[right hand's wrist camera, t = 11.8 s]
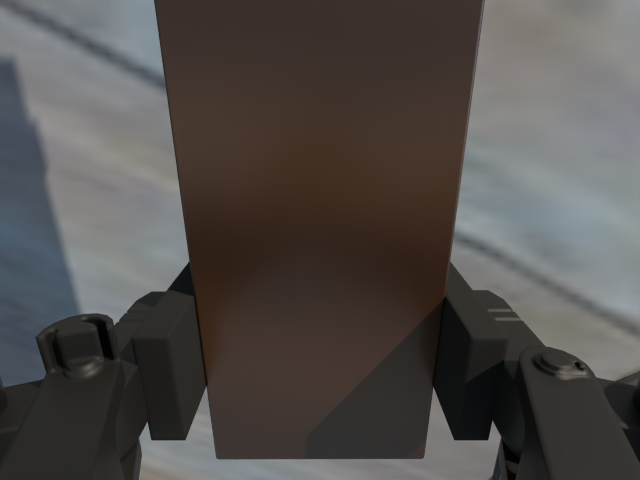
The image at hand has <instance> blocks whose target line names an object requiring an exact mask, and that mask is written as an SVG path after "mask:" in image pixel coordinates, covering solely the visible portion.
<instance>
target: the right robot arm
mask: <svg viewBox="0 0 640 480" xmlns="http://www.w3.org/2000/svg"><path fill="white" fill-rule="evenodd" d="M36 341H37V344H38V347H39V350H40V354H41V357H42V360H43V363H44V366H45V370H46V373H47V374H46V376H45V377H44V379H43V380H39V381H34V382H29V383H24V384H19V385H15V386H10V387H5V388H4V386H3V383H2V381H1V378H0V480H139V473H140V465H141V458H142V452H141V445H140V441H139V436H140V435H141V433H142V431H143V429H144V427H145V425H146V423H147V421H148V426H149V430H150V435H151V440H186V437H187V435H188V432H189V429H190V427H191V424H192V422H193V419H194V417H195V414H196V411H197V409H198V406H199V404H200V401H201V398H202V396H203V393H204V391H205V388H206V378H205V371H204V364H203V356H202V349H201V341H200V334H199V327H198V319H197V312H196V305H195V297H194V290H193V283H192V275H191V268H190V261H189V263H188V264H187V265H186V267H185V268H184V269H183V270H182V272H181V273H180V274H179V276H178V277H177V278H176V279H175V281H174V282H173V283H172V285H171V286H170V287H169V288H168V290H167V291H166V292H150V293H149V294H147V295H145V296H143V297H142V298H140V299H138V300H137V301H136V302H135V303H134V304H133V305H132V306H131V307H130V309H129V310H128V311H127V313H125V314H124V315H123V316H122V318H121V319H120V320H119V322H117V323H116V324H115V326H114V324H113V319H111V318H110V317H108V316H107V315H103V314H97V313H96V314H82V315H78V316H73V317H69V318H66V319H64V320H61V321H59V322H56V323H54V324H52V325H51V326H49V327H47V328H46V329H44V330H43V331H42V332H41V333H40V334H39V335H38V336H37V337H36ZM433 386H434V389H435V392H436V394H437V397H438V399H439V402H440V404H441V407H442V410H443V412H444V415H445V417H446V420H447V423H448V425H449V428H450V430H451V433H452V435H453V438H454V440H488V439H489V434H490V429H491V424H492V420H493V422H494V424H495V426H496V427H497V429H498V431H499V433H500V435H501V441H500V445H499V450H498V454H497V459H496V463H495V468H494V473H493V480H499V475H500V473H501V479H502V480H640V371H639V372H637V373H634V374H632V375H630V376H628V377H626V378H624V379H622V380H620V381H618V382H615V381H610V380H605V379H600V378H596V377H595V375H594V373H593V372H592V370H591V369H590V368H589V367H588V366H587V364H585V363H584V362H583V361H581V360H580V359H578V358H577V357H575V356H573V355H571V354H569V353H566V352H564V351H562V350H558V349H554V348H551V347H545V345H544V344H543V343H542V342H541V341H540V340H539V339H538V338H537V336H536V335H535V334H534V333H533V332H532V331H531V330H530V329H529V327H528V326H527V325H526V324H525V323H524V322H523V321H521V320H520V317H519V316H518V315H517V314H516V313H515V312H513V310H512V308H511V307H510V306H509V305H508V304H507V303H506V302H505V301H504V299H502V298H500V297H499V296H497V295H495V294H494V293H492V292H490V291H488V290H472V289H471V288H470V286H469V285H468V284H467V282H466V281H465V280H464V279H463V277H462V276H461V275H460V273H459V272H458V271H457V270H456V268H455V267H454V266H453V264H452V263H451V262H450V265H449V273H448V280H447V288H446V295H445V302H444V310H443V318H442V325H441V333H440V340H439V348H438V355H437V363H436V370H435V378H434V385H433Z"/></svg>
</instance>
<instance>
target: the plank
mask: <svg viewBox="0 0 640 480" xmlns="http://www.w3.org/2000/svg"><path fill="white" fill-rule="evenodd" d="M484 2H485V0H154V3H155V10H156V17H157V25H158V32H159V40H160V47H161V54H162V62H163V69H164V76H165V84H166V91H167V99H168V106H169V113H170V121H171V128H172V135H173V143H174V150H175V157H176V165H177V172H178V180H179V187H180V194H181V202H182V209H183V216H184V224H185V231H186V239H187V246H188V253H189V261H190V268H191V275H192V283H193V290H194V297H195V305H196V312H197V319H198V327H199V334H200V341H201V349H202V356H203V364H204V371H205V378H206V386H207V393H208V401H209V408H210V415H211V423H212V430H213V437H214V445H215V452H216V458H217V459H422V458H424V453H425V446H426V438H427V431H428V423H429V416H430V408H431V401H432V393H433V385H434V378H435V370H436V363H437V355H438V348H439V340H440V333H441V325H442V318H443V310H444V302H445V295H446V288H447V280H448V273H449V265H450V258H451V250H452V243H453V235H454V228H455V220H456V213H457V205H458V198H459V190H460V182H461V175H462V167H463V160H464V152H465V145H466V137H467V130H468V122H469V115H470V107H471V100H472V92H473V85H474V77H475V70H476V62H477V54H478V47H479V39H480V32H481V24H482V17H483V9H484Z"/></svg>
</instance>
